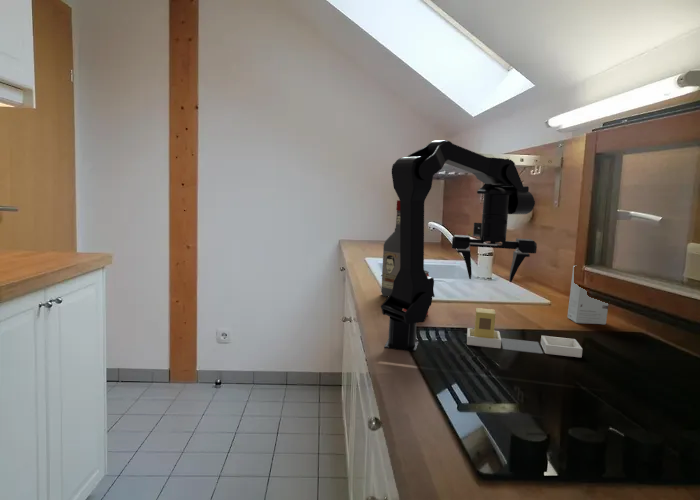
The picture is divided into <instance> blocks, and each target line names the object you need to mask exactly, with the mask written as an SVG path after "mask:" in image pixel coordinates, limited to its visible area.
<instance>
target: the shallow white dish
mask: <svg viewBox="0 0 700 500" xmlns="http://www.w3.org/2000/svg"><path fill="white" fill-rule="evenodd" d="M474 329H475V327H474V328H472V327H467V332H466V345H468V346H475V347H483V348H493V349H501V348H502V342H501V338H502V337H501V333H500V331H499V330H494V339H493V338H483V337H474Z"/></svg>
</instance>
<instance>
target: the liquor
mask: <svg viewBox="0 0 700 500" xmlns="http://www.w3.org/2000/svg"><path fill="white" fill-rule="evenodd" d="M382 249H383V254H382V271H381V288H380V291H381V294H382V297H385V298H387V297H386V296H390V294H391V293H392V290H393V283H394V279H395V278H396V276H397V274H398V272H399V270H400V199H398V200H396V220H395V228H394V231H393V232H392V233H391V235H389V237H388V238H386V240H385V241H384V243H383V248H382Z"/></svg>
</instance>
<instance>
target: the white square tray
mask: <svg viewBox="0 0 700 500" xmlns="http://www.w3.org/2000/svg"><path fill="white" fill-rule="evenodd" d="M540 346H541V347H542V349H543V350H542V351H543V353H545V354H547V355H556V356H565V357H572V358H573V357H575V358H582V356H583V347H582V346H581V345H580V343H579V342H578V341H577V339H575V338H568V337H567V338H566V337H557V336H549V335H541V338H540Z"/></svg>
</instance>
